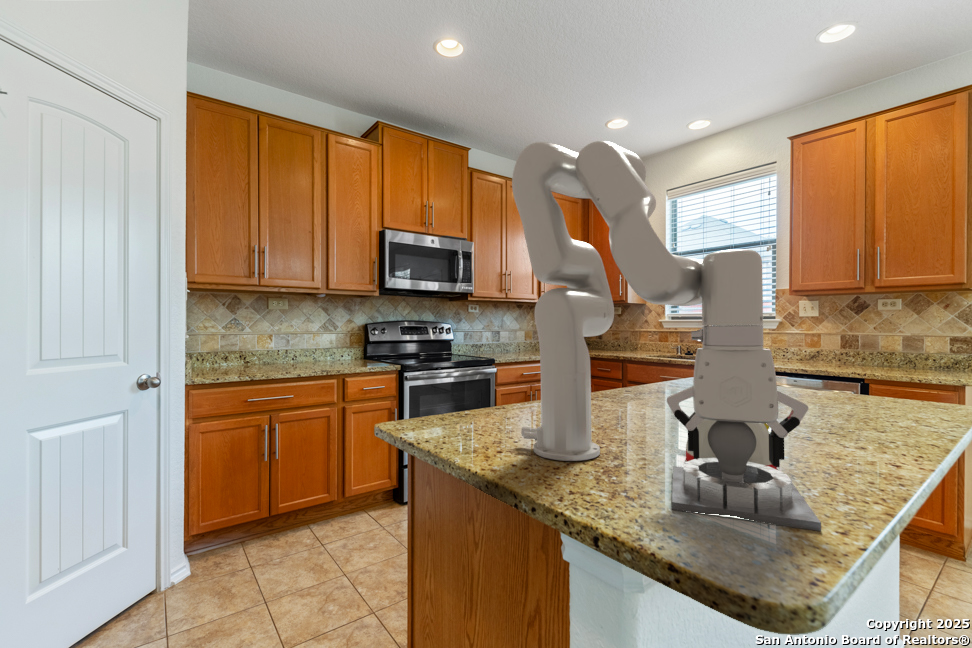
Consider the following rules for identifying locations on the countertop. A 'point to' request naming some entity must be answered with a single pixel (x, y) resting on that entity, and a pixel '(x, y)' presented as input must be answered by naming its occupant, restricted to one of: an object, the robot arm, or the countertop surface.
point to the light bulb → (732, 447)
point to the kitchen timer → (757, 457)
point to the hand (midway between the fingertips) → (733, 460)
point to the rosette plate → (763, 515)
